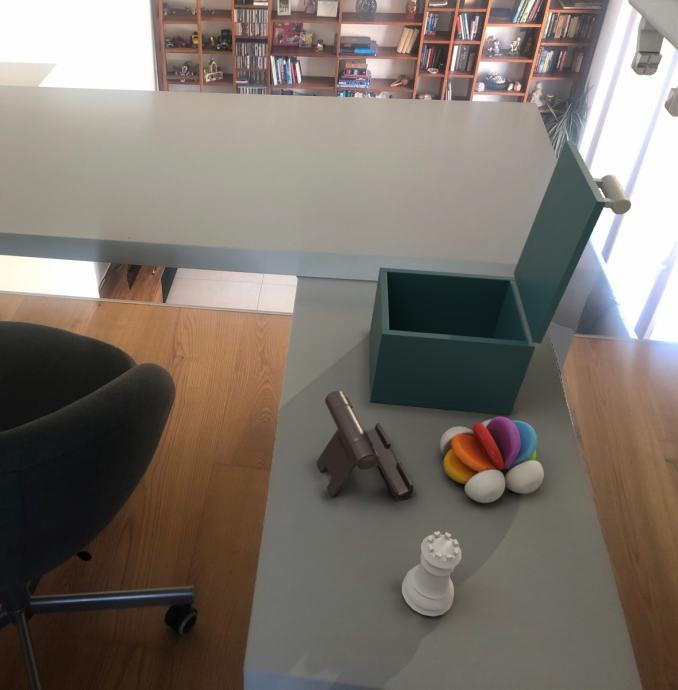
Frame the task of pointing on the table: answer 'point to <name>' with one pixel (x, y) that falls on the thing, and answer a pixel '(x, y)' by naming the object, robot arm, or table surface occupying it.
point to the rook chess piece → (433, 576)
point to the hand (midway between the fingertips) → (658, 91)
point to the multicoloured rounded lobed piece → (492, 458)
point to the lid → (562, 235)
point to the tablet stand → (359, 450)
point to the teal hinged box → (448, 341)
